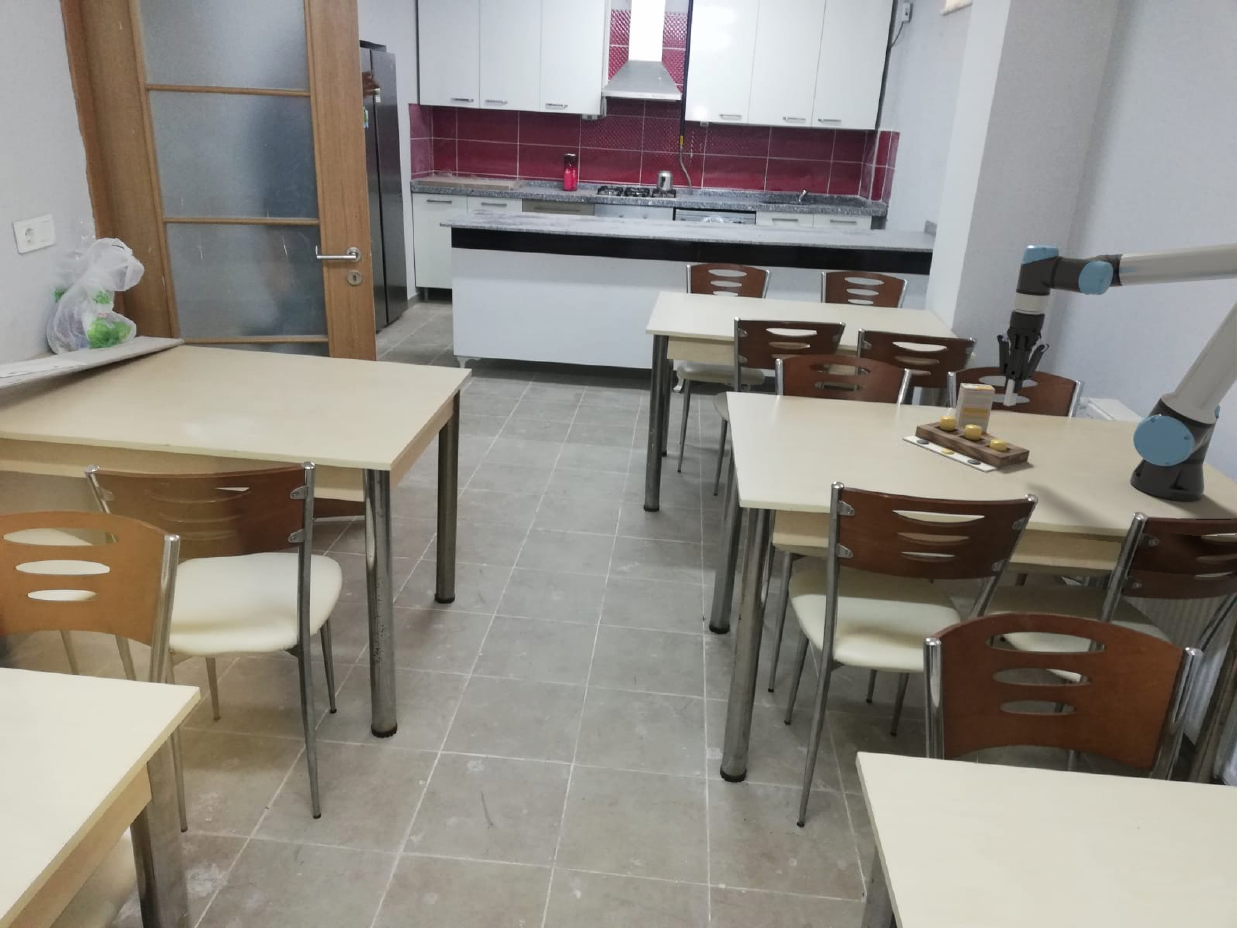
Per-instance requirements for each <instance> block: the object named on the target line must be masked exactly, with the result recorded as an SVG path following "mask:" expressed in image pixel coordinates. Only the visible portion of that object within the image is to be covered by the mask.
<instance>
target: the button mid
mask: <svg viewBox="0 0 1237 928" xmlns="http://www.w3.org/2000/svg"><path fill="white" fill-rule="evenodd" d="M981 431H982V428H981V427H980V426H976V425H966V428H965V433H964V437H965V438H968V439H972V440H979V439H980V436H981Z"/></svg>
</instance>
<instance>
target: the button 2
mask: <svg viewBox="0 0 1237 928" xmlns="http://www.w3.org/2000/svg"><path fill="white" fill-rule="evenodd" d="M997 439H998V438H996V439H994V440H991V444H990V448H991V449H993V450H996V451H999V452H1004V451H1006V450H1007V445H1008V443H1009V442H1008V441H1005V440H1002V439H999V440H997Z"/></svg>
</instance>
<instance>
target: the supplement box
mask: <svg viewBox="0 0 1237 928" xmlns="http://www.w3.org/2000/svg"><path fill="white" fill-rule="evenodd" d="M995 393H996V389H995V388H994V387H993V386H992V384H991V385H990V384H981V383H980V384H979V383H963V382H960V386H959V391H958V397H957V402H956V407H955V412H954V416H953V417H954V418H956V419H957V420H956V424H957V425H960V426H963V427H965V428H966V425H976V426H980V427H981V428H982V431H981V433H982V434H985V435H987V432H988V431H987V430H988V428H989V427H988V426H989V423H990V417H991V410H992V406H993V401H994V398H995V397H994V396H995Z"/></svg>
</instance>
